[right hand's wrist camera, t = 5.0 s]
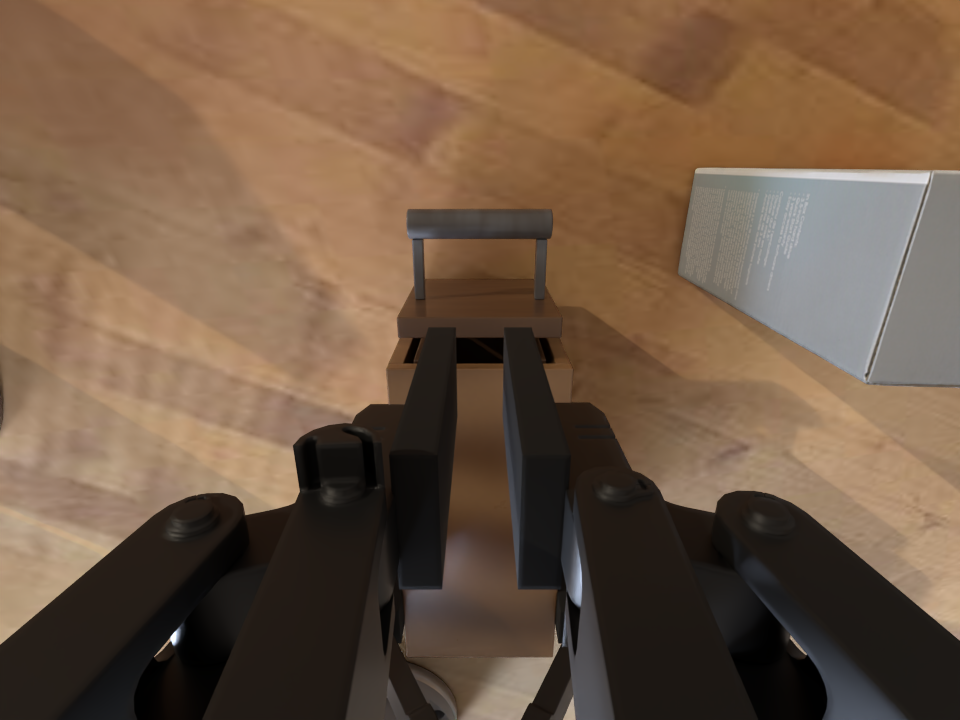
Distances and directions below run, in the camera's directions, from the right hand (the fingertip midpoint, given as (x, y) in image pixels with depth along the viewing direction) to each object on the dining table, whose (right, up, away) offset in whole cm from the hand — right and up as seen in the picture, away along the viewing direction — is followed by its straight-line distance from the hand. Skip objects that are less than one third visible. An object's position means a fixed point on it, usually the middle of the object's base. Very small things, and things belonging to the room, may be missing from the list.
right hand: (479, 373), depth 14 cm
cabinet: (0, -6, +28) cm, 28 cm away
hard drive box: (+22, +10, +21) cm, 32 cm away
